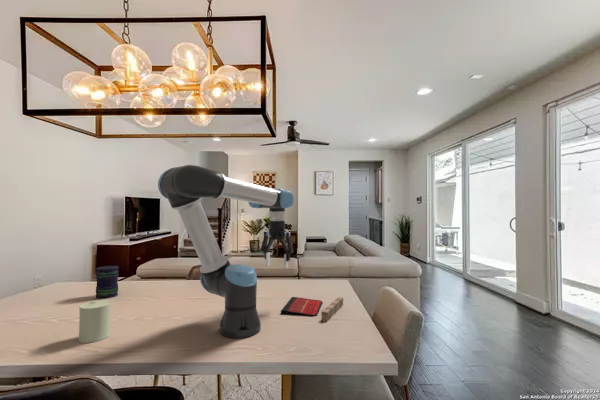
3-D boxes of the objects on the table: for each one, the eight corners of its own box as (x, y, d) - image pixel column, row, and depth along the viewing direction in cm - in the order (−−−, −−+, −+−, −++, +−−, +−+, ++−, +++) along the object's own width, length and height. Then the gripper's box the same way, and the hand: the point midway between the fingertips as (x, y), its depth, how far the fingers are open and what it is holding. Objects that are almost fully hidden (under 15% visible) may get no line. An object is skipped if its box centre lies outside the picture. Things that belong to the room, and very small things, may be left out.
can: (104, 329, 113) (105, 297, 113) (113, 336, 107) (114, 302, 107) (74, 337, 105) (75, 303, 106) (83, 345, 100) (83, 309, 100)
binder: (280, 309, 130) (291, 296, 151) (280, 315, 130) (291, 300, 151) (317, 314, 127) (323, 299, 147) (317, 319, 127) (323, 304, 147)
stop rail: (327, 321, 122) (327, 312, 122) (321, 320, 123) (321, 311, 123) (343, 304, 143) (343, 297, 143) (338, 304, 144) (338, 296, 144)
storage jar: (104, 293, 161) (105, 265, 162) (122, 293, 161) (122, 265, 161) (90, 298, 151) (91, 269, 152) (109, 299, 151) (110, 269, 151)
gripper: (301, 220, 145) (300, 267, 144) (261, 219, 154) (261, 263, 153) (294, 221, 138) (294, 270, 137) (253, 220, 147) (253, 266, 146)
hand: (276, 266), depth 145 cm, fingers open, 9 cm apart
